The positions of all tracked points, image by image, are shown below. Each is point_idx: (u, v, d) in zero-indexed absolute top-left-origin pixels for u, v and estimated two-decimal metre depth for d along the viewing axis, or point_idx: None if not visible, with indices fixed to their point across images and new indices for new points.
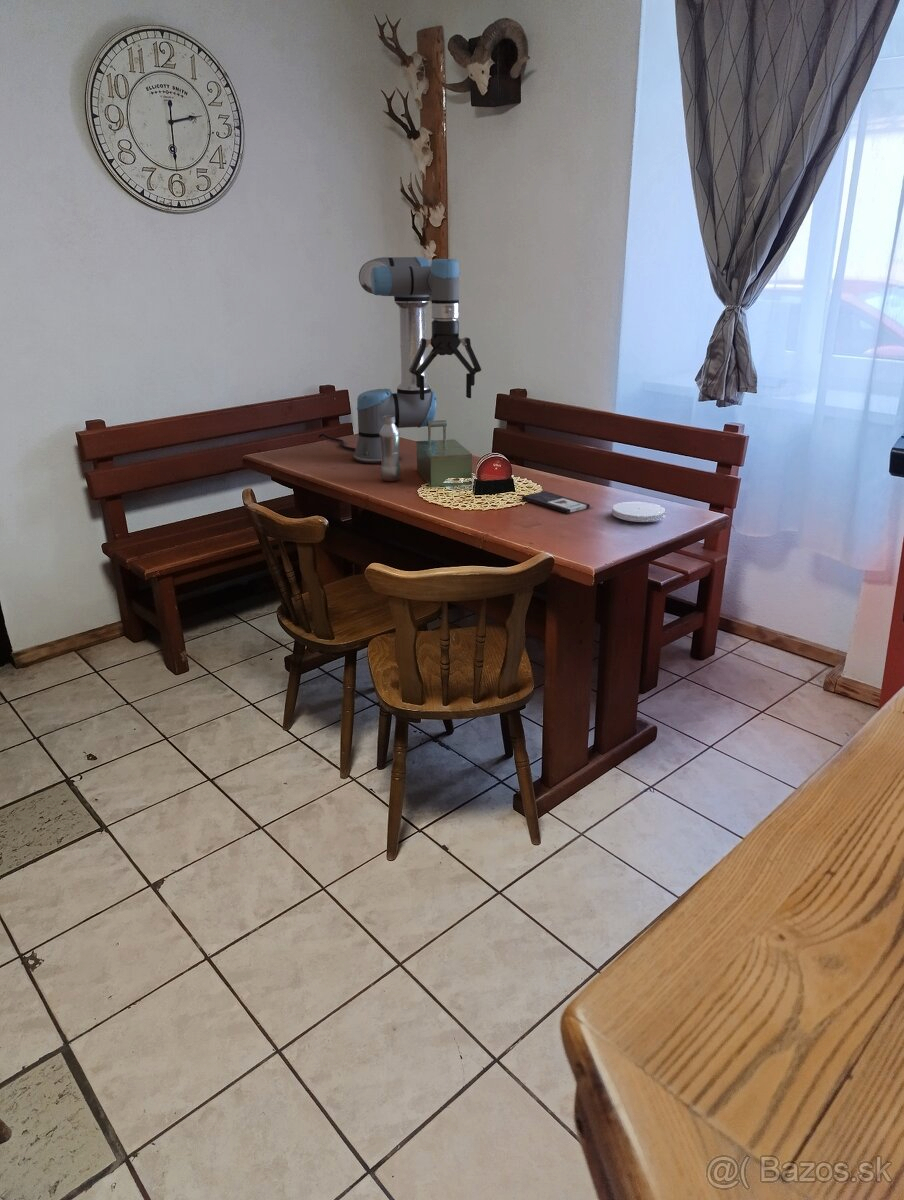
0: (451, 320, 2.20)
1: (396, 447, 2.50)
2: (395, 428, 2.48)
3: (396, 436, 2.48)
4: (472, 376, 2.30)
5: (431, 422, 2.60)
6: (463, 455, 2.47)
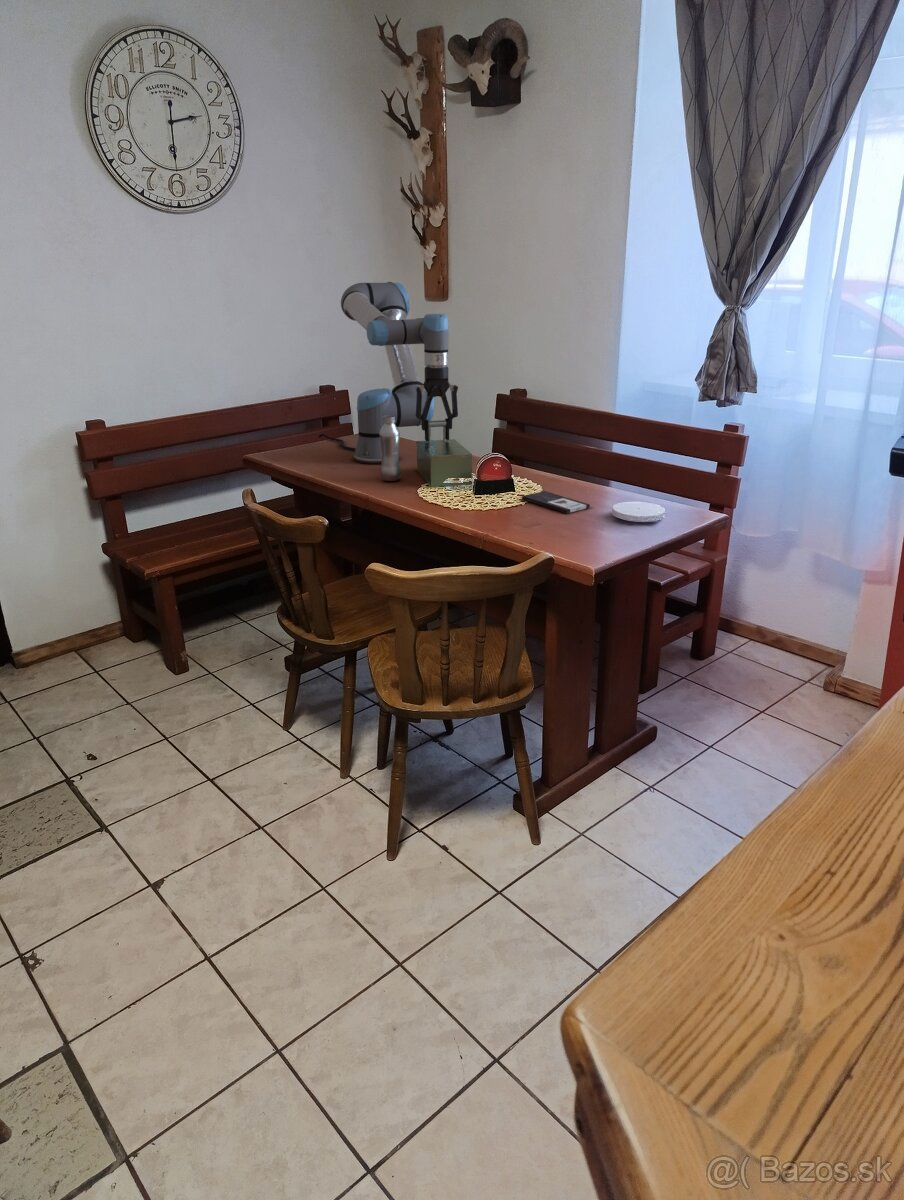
0: (441, 367, 2.52)
1: (396, 447, 2.50)
2: (395, 428, 2.48)
3: (396, 436, 2.48)
4: (450, 421, 2.61)
5: (431, 422, 2.60)
6: (463, 455, 2.47)
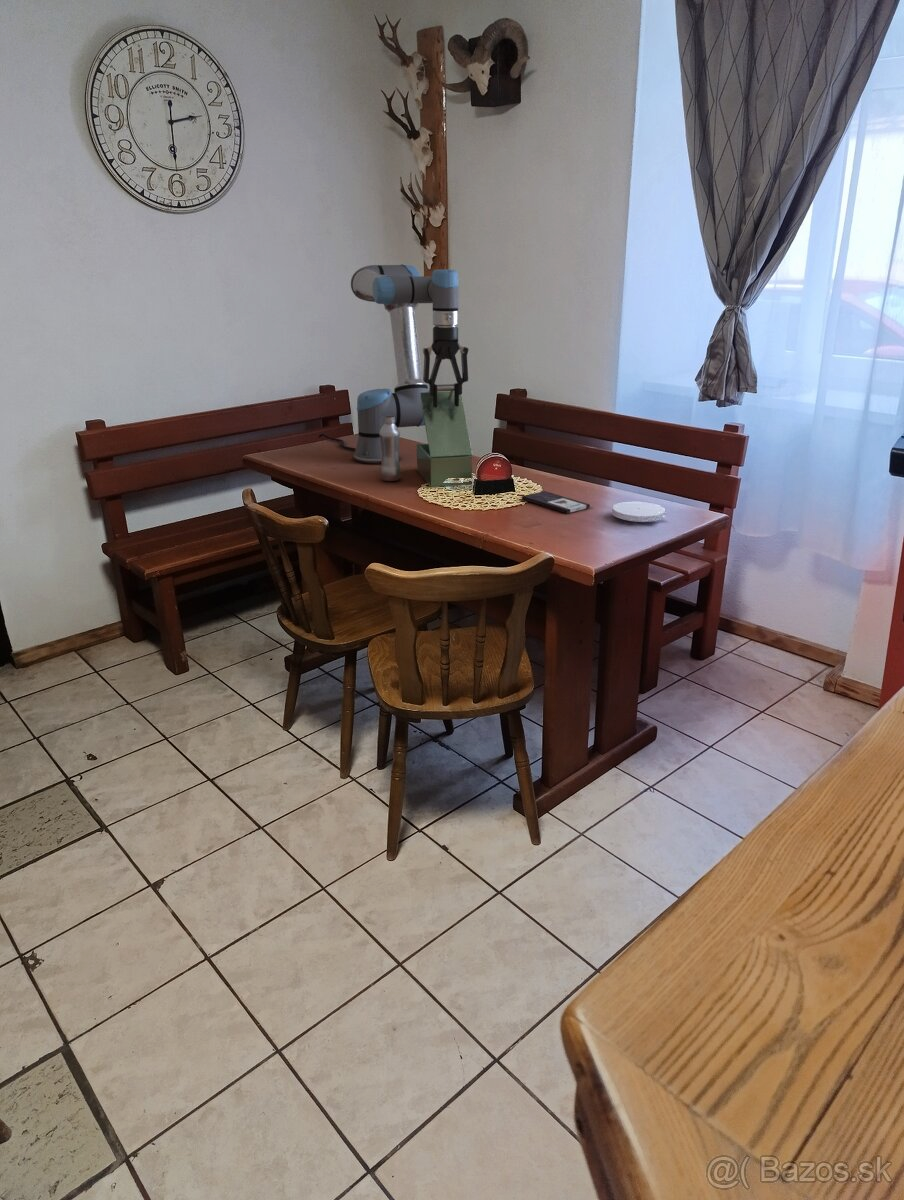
0: (451, 327, 2.36)
1: (396, 447, 2.50)
2: (395, 428, 2.48)
3: (396, 436, 2.48)
4: (460, 386, 2.45)
5: (439, 389, 2.45)
6: (463, 455, 2.47)
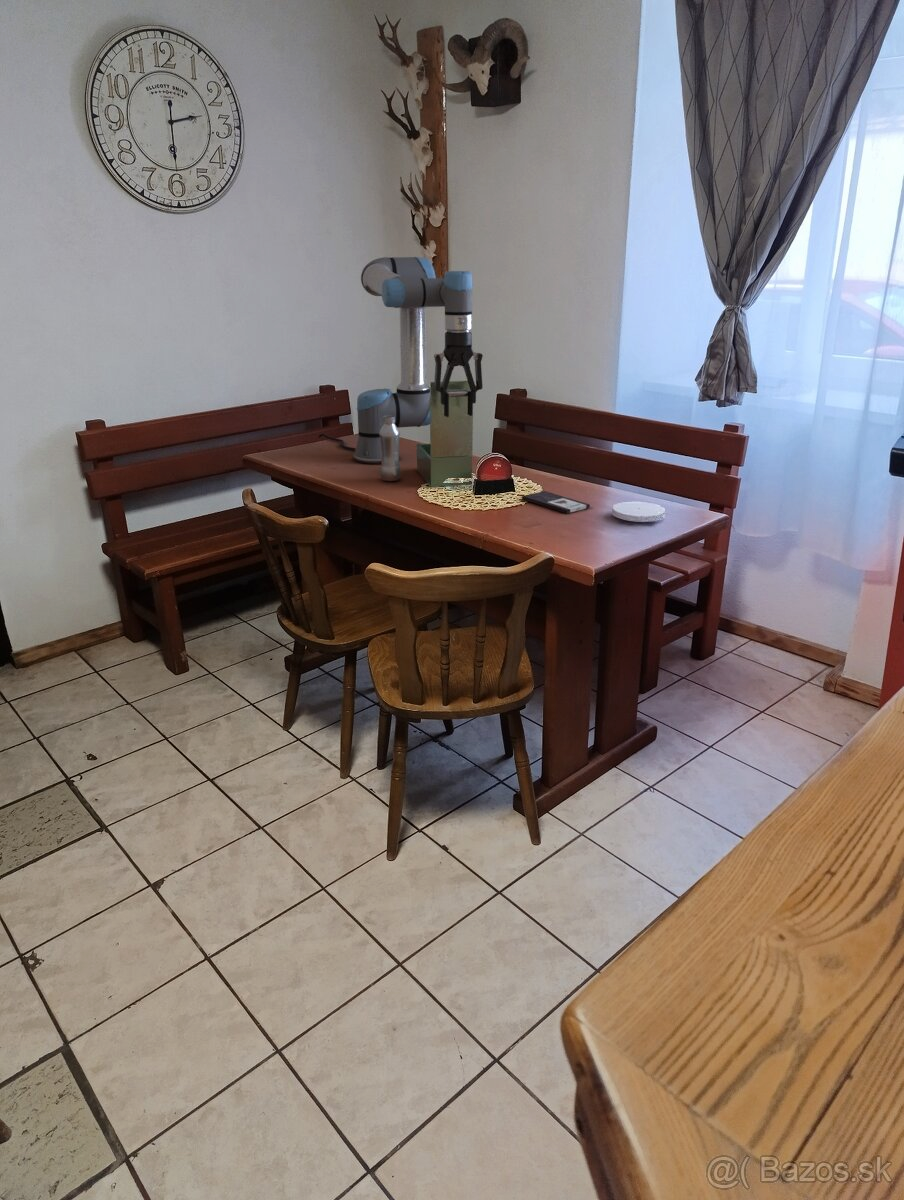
0: (464, 331, 2.22)
1: (396, 447, 2.50)
2: (395, 428, 2.48)
3: (396, 436, 2.48)
4: (473, 394, 2.31)
5: (450, 396, 2.32)
6: None
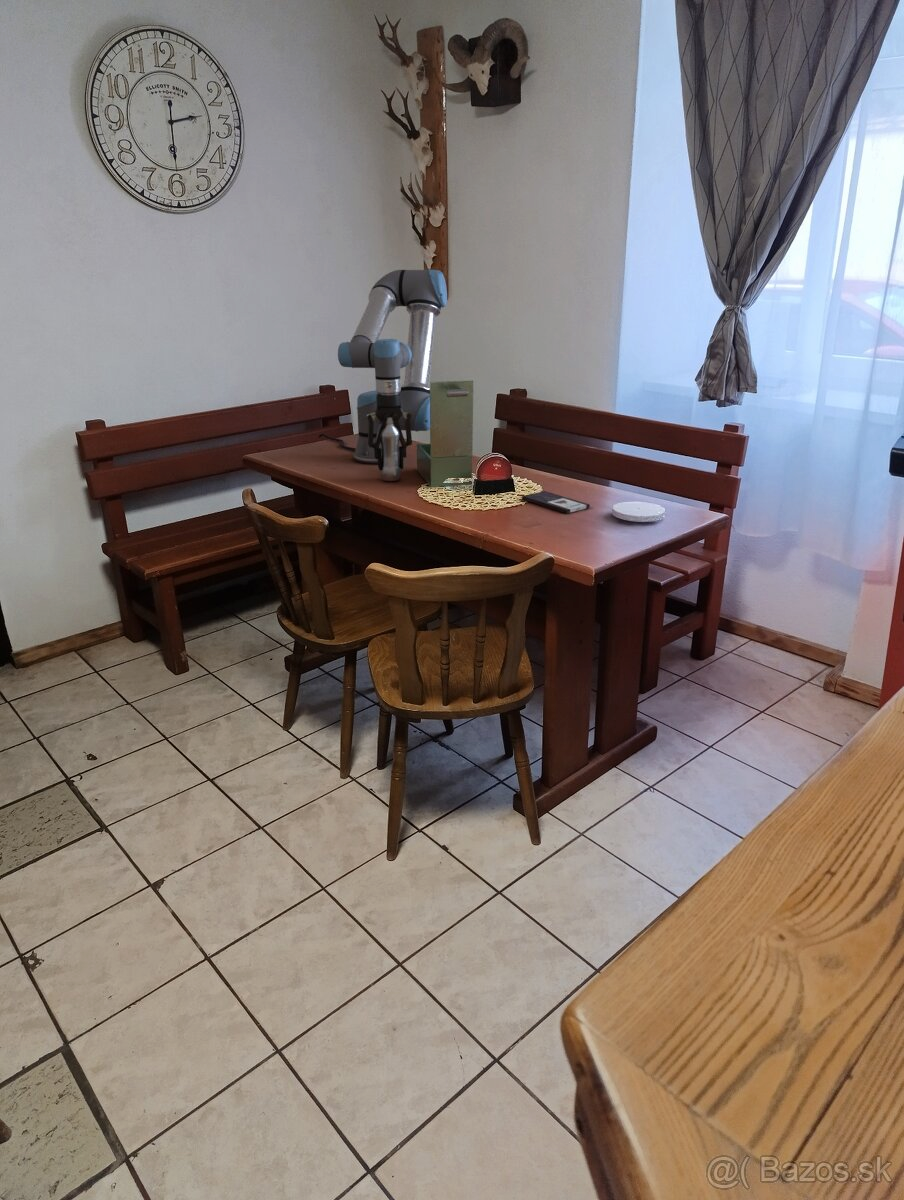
0: (393, 394, 2.42)
1: (396, 447, 2.50)
2: (395, 428, 2.48)
3: (396, 436, 2.48)
4: (404, 449, 2.52)
5: (450, 396, 2.32)
6: None
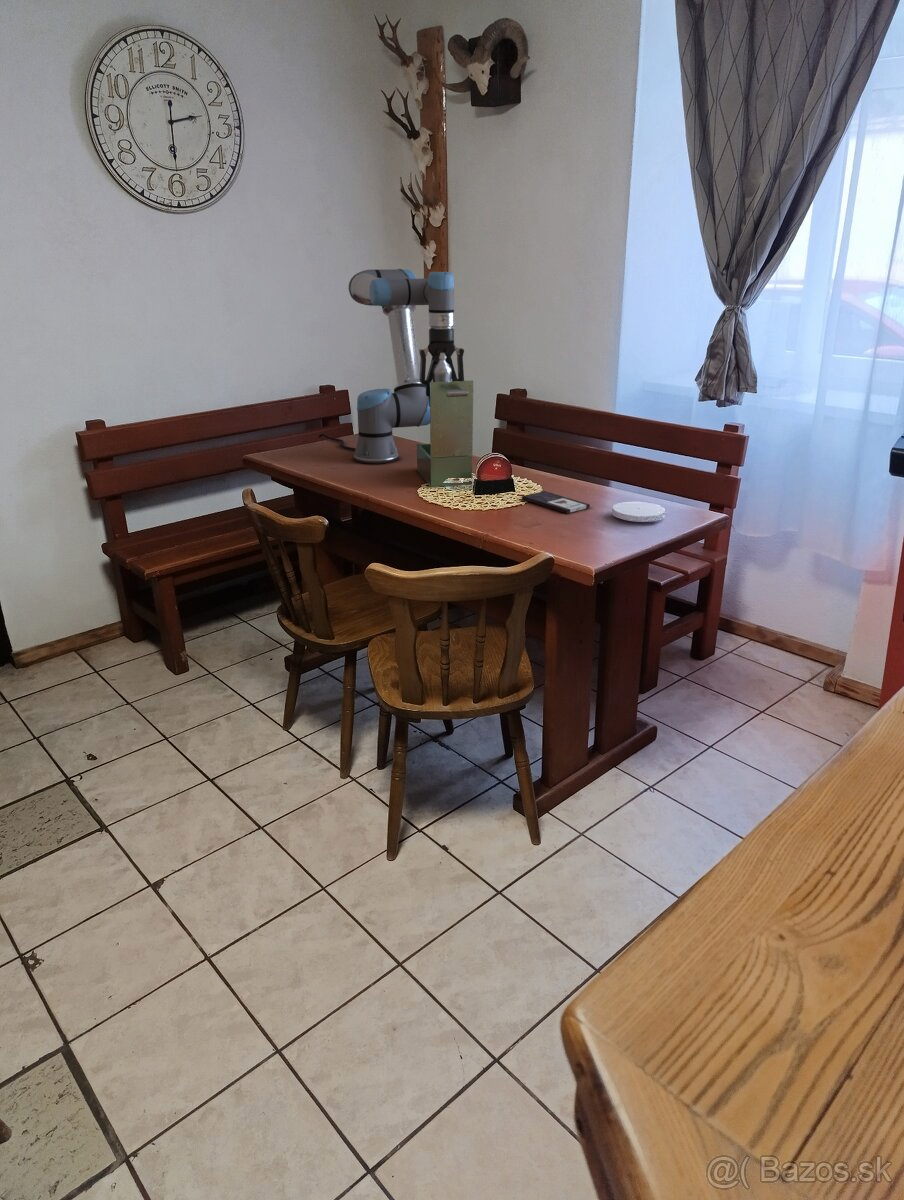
0: (447, 328, 2.39)
1: None
2: (447, 364, 2.44)
3: (448, 372, 2.44)
4: None
5: (450, 396, 2.32)
6: None
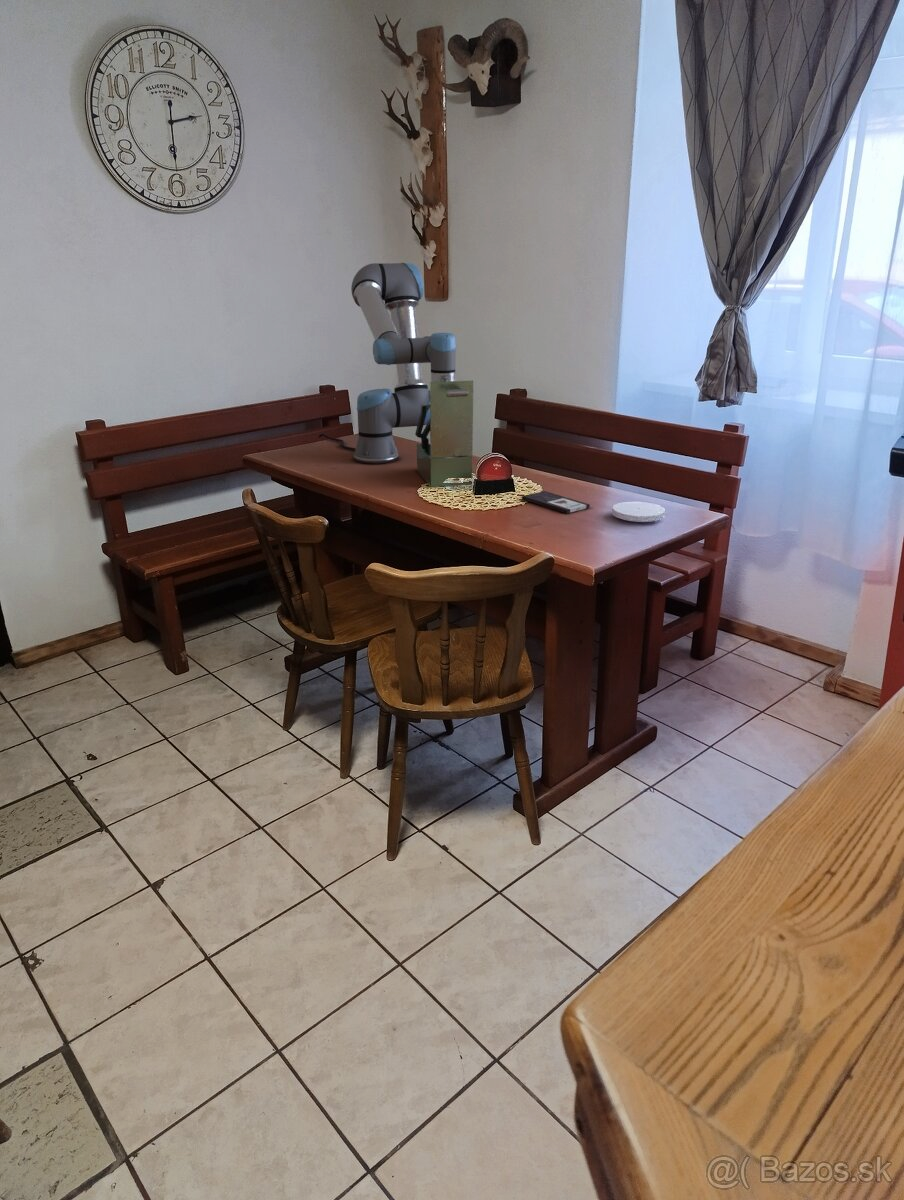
0: None
1: None
2: None
3: None
4: None
5: (450, 396, 2.32)
6: None
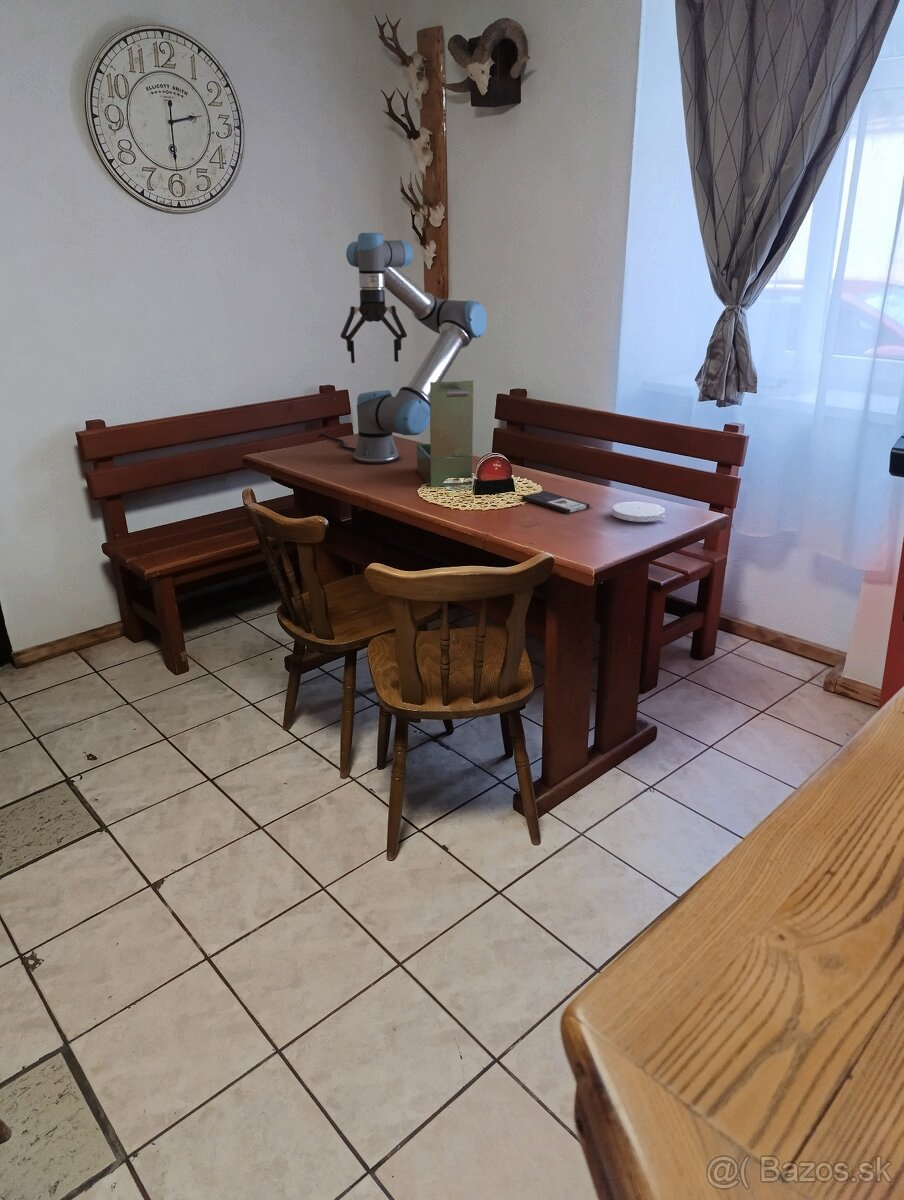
0: (377, 289, 2.41)
1: None
2: None
3: None
4: (399, 341, 2.51)
5: (450, 396, 2.32)
6: None
